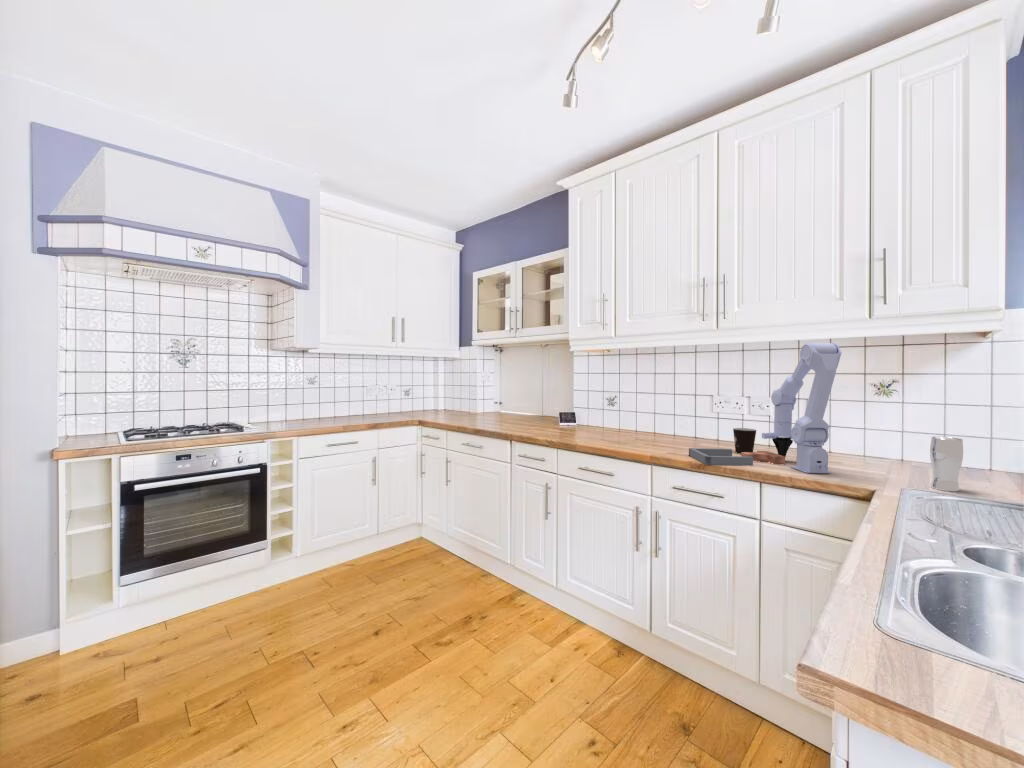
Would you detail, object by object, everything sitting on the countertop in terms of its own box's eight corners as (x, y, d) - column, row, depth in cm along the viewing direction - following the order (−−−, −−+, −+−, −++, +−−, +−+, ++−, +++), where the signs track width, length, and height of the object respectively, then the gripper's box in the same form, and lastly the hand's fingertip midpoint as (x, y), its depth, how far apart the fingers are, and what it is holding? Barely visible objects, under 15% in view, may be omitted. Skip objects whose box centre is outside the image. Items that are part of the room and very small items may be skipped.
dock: (752, 465, 161) (753, 457, 161) (706, 464, 162) (706, 456, 162) (730, 456, 179) (730, 448, 179) (688, 455, 180) (688, 448, 180)
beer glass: (934, 485, 135) (936, 435, 135) (965, 490, 129) (967, 439, 129) (924, 487, 132) (926, 437, 132) (956, 493, 126) (958, 440, 126)
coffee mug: (753, 455, 181) (754, 431, 180) (730, 453, 186) (731, 429, 186) (758, 451, 190) (759, 428, 190) (736, 449, 195) (736, 426, 195)
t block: (767, 458, 176) (767, 450, 176) (784, 464, 164) (785, 456, 164) (736, 457, 176) (736, 450, 176) (751, 464, 164) (751, 456, 164)
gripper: (796, 421, 173) (795, 456, 173) (758, 420, 174) (757, 455, 174) (807, 423, 166) (806, 459, 166) (767, 422, 166) (766, 458, 167)
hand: (781, 457), depth 170 cm, fingers closed
